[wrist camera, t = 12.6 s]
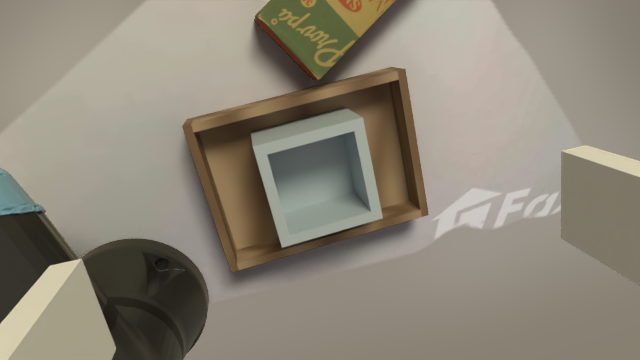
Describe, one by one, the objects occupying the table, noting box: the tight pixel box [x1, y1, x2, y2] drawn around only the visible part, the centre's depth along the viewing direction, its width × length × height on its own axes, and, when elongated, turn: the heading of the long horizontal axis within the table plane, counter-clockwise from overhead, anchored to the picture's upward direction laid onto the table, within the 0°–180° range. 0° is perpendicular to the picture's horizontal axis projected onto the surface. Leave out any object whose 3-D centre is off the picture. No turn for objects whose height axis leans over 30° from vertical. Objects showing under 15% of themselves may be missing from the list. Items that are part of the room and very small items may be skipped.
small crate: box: [251, 107, 383, 248], centre depth 44 cm, size 10×10×7 cm
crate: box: [182, 67, 429, 272], centre depth 46 cm, size 22×16×4 cm
